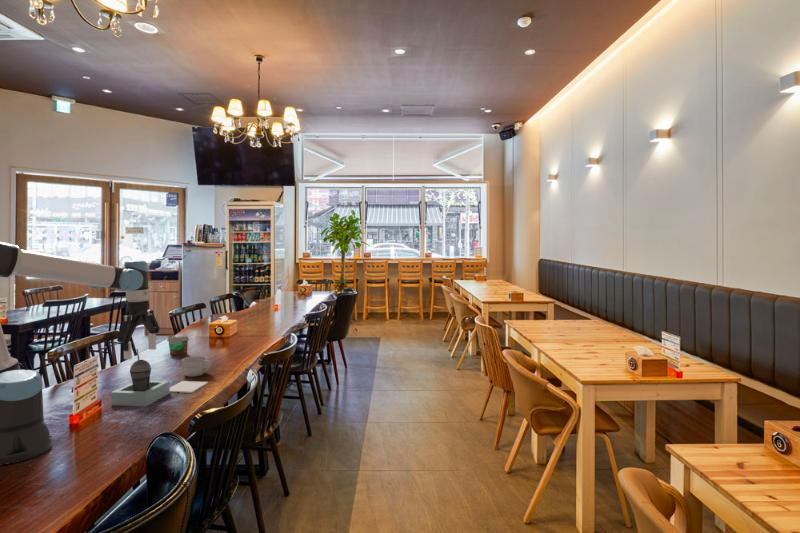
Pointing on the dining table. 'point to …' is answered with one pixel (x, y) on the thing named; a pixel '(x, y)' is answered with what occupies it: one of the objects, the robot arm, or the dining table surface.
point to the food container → (178, 345)
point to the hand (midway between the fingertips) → (140, 354)
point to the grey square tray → (140, 394)
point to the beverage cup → (140, 374)
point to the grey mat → (187, 386)
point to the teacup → (195, 365)
